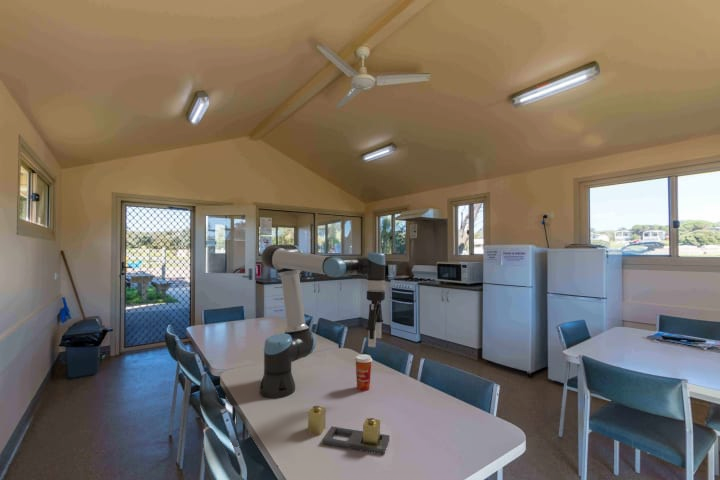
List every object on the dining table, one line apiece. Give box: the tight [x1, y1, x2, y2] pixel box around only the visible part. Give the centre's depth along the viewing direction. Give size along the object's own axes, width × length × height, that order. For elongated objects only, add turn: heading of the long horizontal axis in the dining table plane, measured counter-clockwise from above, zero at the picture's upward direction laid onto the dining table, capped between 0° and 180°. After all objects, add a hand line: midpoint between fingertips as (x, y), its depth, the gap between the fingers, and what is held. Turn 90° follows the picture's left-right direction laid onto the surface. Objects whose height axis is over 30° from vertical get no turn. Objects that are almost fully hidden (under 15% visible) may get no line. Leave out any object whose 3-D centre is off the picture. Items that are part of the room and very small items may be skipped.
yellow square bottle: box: [307, 405, 327, 436], centre depth 115 cm, size 4×4×8 cm
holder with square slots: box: [322, 417, 390, 455], centre depth 109 cm, size 20×8×8 cm, turn 74°
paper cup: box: [354, 354, 373, 392], centre depth 151 cm, size 8×8×14 cm
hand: (375, 342), depth 139 cm, fingers open, 13 cm apart
